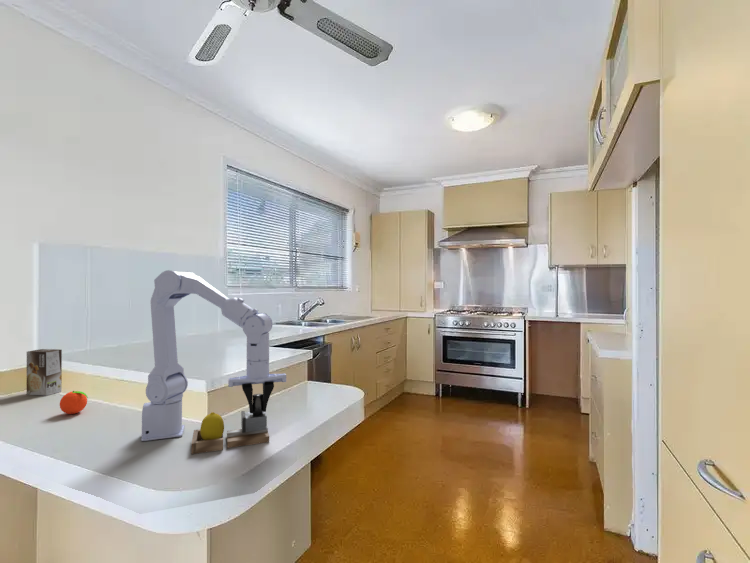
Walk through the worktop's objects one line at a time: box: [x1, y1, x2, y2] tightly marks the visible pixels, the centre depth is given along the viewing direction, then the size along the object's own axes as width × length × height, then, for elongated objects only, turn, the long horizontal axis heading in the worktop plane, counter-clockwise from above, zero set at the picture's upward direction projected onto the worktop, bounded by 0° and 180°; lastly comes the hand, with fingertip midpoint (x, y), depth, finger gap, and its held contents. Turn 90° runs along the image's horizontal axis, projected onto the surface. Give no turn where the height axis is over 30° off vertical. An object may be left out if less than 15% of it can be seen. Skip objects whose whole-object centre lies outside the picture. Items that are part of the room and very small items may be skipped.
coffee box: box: [26, 348, 63, 396], centre depth 147 cm, size 9×6×16 cm
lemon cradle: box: [190, 428, 224, 455], centre depth 98 cm, size 7×10×2 cm
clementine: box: [59, 390, 89, 415], centre depth 123 cm, size 8×7×7 cm
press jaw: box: [240, 393, 268, 433], centre depth 103 cm, size 6×6×8 cm
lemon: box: [200, 411, 225, 441], centre depth 99 cm, size 6×6×8 cm
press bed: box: [226, 426, 270, 449], centre depth 102 cm, size 10×8×2 cm
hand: (257, 411), depth 103 cm, fingers closed on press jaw, 3 cm apart
